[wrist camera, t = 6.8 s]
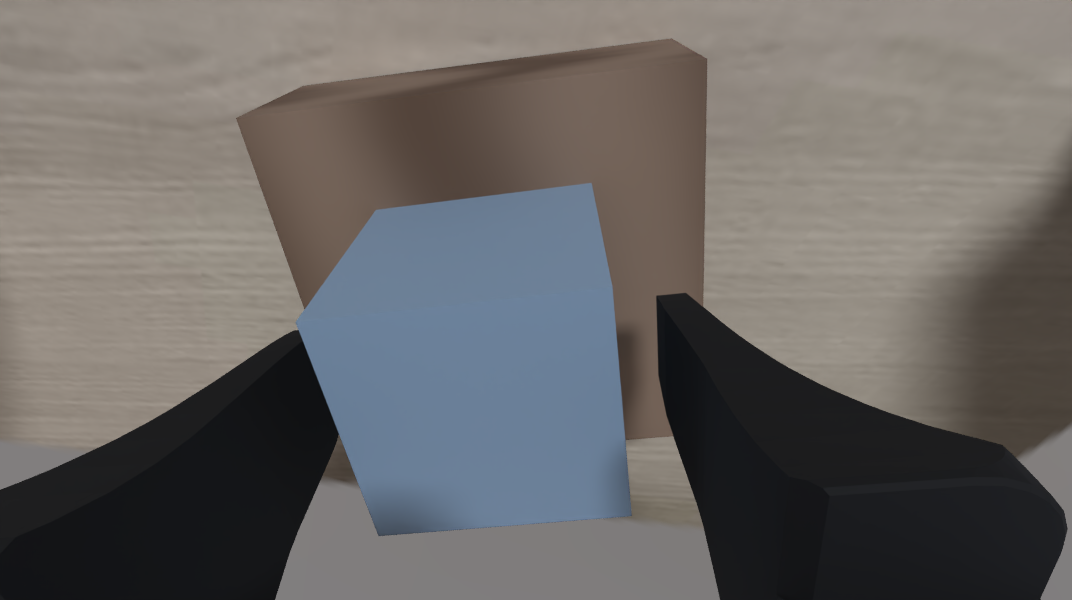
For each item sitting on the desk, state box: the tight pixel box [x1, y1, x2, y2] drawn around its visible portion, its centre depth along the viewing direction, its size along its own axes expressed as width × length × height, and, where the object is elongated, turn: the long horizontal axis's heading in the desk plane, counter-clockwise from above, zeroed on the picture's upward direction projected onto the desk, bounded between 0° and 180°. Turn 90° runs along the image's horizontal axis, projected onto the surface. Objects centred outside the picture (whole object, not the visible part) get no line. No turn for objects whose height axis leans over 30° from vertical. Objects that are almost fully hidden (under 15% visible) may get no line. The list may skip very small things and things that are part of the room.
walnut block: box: [236, 39, 707, 440], centre depth 17 cm, size 10×10×4 cm
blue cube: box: [296, 183, 632, 536], centre depth 13 cm, size 5×5×5 cm
